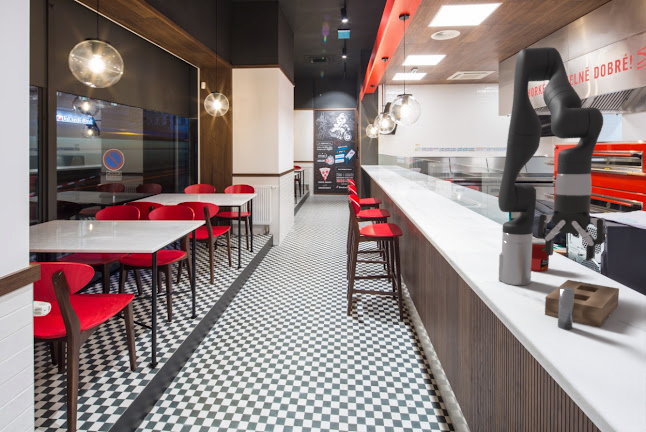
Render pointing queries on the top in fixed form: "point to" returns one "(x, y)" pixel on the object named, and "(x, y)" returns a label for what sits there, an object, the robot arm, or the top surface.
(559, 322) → the pin
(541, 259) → the canned food
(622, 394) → the top surface
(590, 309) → the hole block
